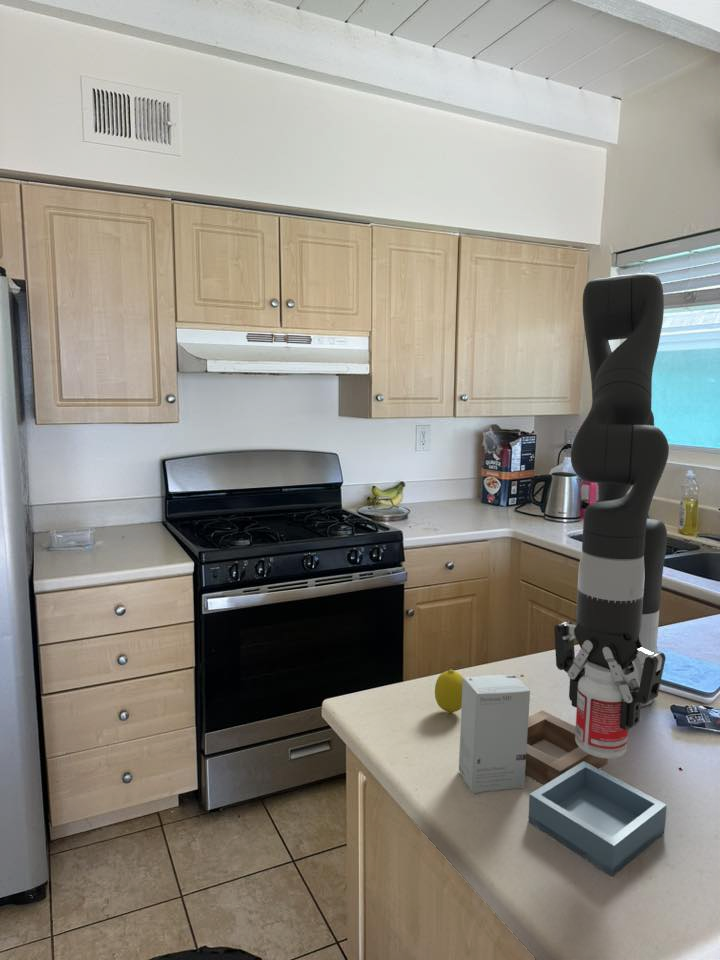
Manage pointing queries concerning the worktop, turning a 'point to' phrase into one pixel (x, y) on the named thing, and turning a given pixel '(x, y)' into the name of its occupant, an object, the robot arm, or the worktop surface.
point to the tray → (597, 816)
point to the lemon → (449, 691)
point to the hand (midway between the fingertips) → (602, 715)
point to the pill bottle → (599, 714)
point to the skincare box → (493, 732)
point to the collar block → (562, 737)
